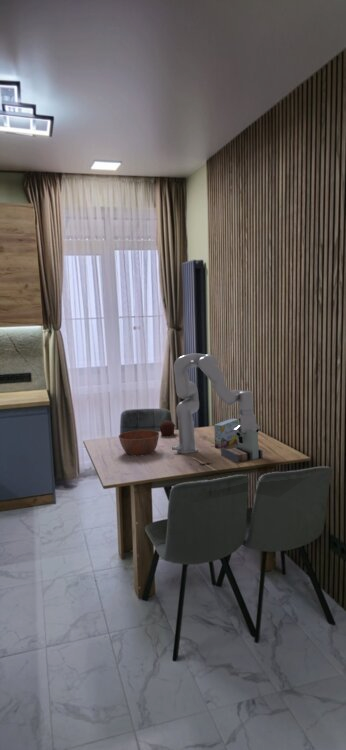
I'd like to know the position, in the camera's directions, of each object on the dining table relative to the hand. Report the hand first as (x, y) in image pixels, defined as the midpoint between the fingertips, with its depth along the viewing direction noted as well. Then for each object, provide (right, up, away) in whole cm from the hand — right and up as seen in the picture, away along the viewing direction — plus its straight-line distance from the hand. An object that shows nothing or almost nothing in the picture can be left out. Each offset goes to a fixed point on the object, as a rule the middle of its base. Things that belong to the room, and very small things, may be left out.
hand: (247, 441), depth 295 cm
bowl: (-64, -10, +23) cm, 68 cm away
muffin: (-47, -4, +64) cm, 80 cm away
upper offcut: (-7, -7, -2) cm, 10 cm away
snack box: (-8, -6, +31) cm, 33 cm away
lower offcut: (-7, -9, -2) cm, 11 cm away
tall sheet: (0, -8, +1) cm, 8 cm away
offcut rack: (-4, -9, -1) cm, 10 cm away
